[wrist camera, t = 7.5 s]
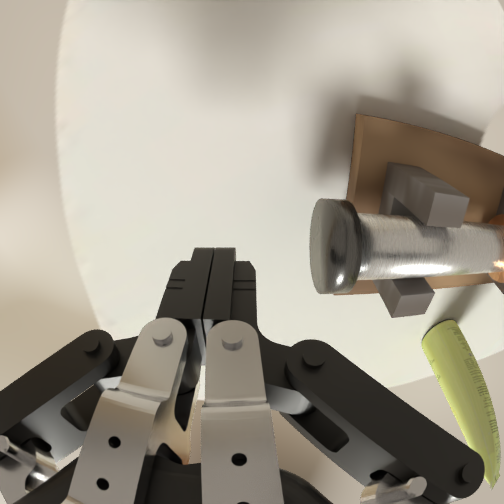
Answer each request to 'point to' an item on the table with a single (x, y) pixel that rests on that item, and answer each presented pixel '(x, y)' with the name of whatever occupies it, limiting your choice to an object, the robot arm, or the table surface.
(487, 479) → the tube
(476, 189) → the bearing board
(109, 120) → the table surface
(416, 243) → the shaft
